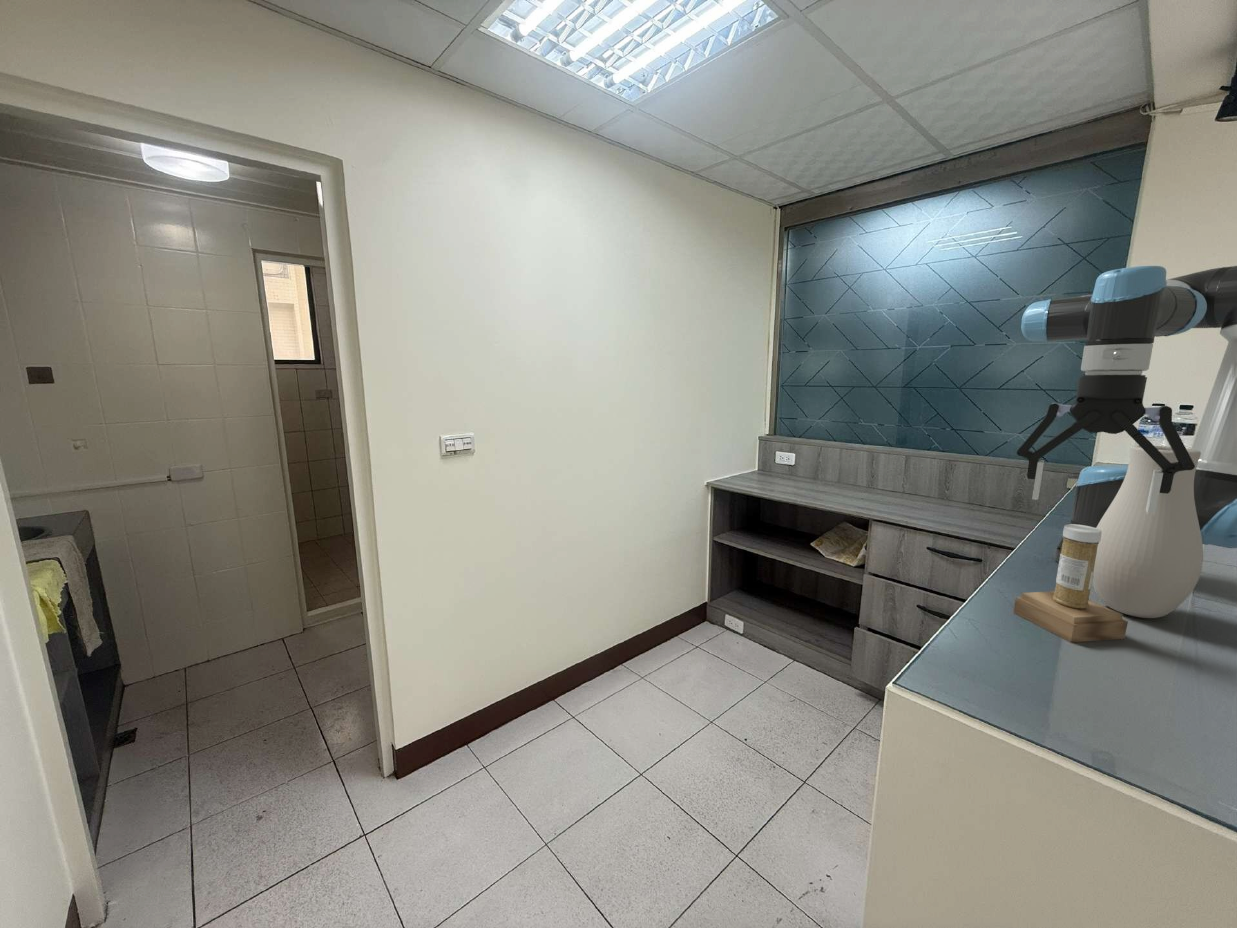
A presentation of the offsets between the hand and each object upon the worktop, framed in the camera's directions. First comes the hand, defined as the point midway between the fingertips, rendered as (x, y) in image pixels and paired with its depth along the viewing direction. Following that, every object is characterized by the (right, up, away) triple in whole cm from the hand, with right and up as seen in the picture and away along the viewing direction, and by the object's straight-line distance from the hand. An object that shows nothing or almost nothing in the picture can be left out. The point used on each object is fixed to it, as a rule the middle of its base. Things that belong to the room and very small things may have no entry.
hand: (1089, 505), depth 80 cm
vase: (+16, -20, +9) cm, 27 cm away
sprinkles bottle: (-1, -17, +3) cm, 17 cm away
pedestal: (0, -21, +4) cm, 21 cm away
